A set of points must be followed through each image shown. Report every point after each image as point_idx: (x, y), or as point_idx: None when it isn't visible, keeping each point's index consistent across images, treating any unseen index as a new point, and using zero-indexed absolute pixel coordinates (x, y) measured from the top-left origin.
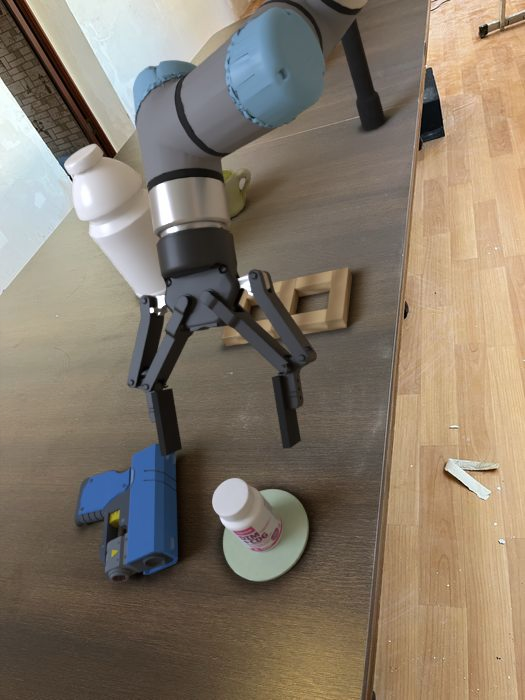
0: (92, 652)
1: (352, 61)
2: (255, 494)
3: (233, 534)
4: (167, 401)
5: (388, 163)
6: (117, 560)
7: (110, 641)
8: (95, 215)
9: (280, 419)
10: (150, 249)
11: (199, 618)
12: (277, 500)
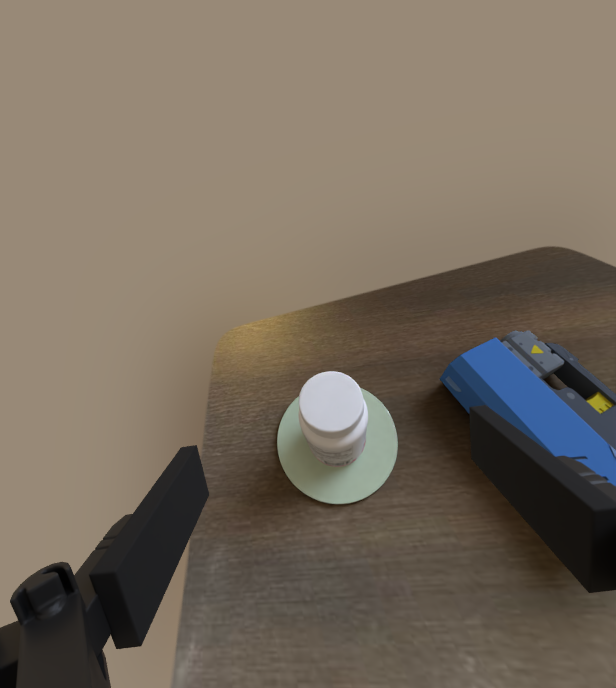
0: (486, 289)
1: None
2: (308, 430)
3: (379, 427)
4: (557, 524)
5: None
6: (520, 343)
7: (473, 301)
8: None
9: (168, 481)
10: None
11: (380, 341)
12: (330, 485)
